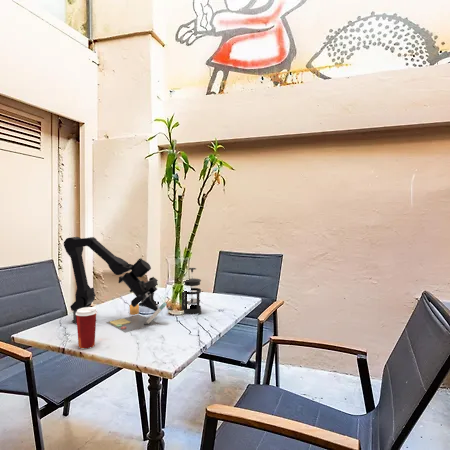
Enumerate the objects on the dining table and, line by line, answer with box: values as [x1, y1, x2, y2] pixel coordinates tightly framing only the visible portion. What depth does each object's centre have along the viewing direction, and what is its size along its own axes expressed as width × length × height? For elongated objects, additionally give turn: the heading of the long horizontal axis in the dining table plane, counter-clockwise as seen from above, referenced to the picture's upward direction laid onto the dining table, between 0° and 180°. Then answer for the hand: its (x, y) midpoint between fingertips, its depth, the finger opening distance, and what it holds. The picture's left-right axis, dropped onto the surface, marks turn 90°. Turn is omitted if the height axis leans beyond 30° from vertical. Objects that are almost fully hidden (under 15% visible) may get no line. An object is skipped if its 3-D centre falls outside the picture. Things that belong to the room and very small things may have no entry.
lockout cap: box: [129, 303, 140, 316], centre depth 168 cm, size 4×4×5 cm
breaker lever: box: [146, 301, 167, 324], centre depth 153 cm, size 2×3×11 cm
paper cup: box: [75, 306, 98, 349], centre depth 129 cm, size 8×8×14 cm
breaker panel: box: [105, 314, 160, 333], centre depth 154 cm, size 17×18×1 cm
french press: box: [181, 267, 202, 316], centre depth 171 cm, size 12×9×23 cm
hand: (156, 310), depth 153 cm, fingers closed, pressing on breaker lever
